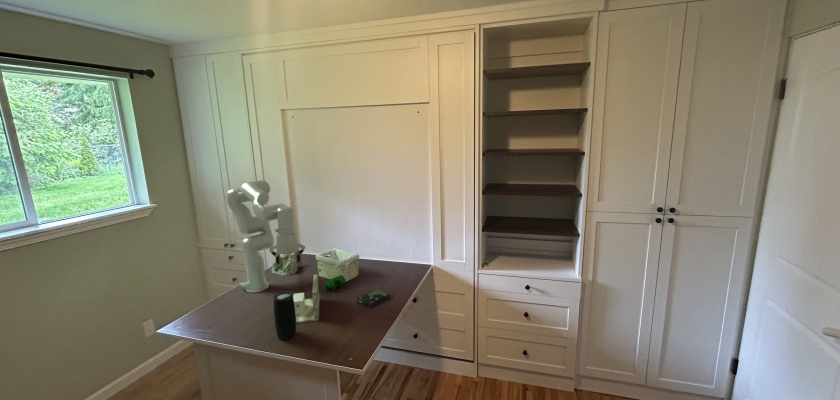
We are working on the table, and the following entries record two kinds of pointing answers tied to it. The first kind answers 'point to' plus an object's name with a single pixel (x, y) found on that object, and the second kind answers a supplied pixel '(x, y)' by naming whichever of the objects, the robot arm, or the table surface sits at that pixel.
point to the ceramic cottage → (284, 265)
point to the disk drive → (373, 298)
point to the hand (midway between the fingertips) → (288, 262)
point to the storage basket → (337, 264)
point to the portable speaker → (284, 315)
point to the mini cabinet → (299, 303)
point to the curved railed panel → (311, 305)
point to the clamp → (334, 283)
